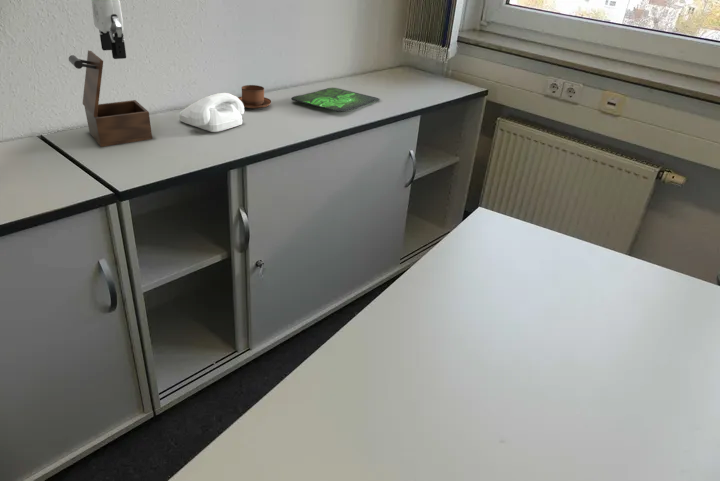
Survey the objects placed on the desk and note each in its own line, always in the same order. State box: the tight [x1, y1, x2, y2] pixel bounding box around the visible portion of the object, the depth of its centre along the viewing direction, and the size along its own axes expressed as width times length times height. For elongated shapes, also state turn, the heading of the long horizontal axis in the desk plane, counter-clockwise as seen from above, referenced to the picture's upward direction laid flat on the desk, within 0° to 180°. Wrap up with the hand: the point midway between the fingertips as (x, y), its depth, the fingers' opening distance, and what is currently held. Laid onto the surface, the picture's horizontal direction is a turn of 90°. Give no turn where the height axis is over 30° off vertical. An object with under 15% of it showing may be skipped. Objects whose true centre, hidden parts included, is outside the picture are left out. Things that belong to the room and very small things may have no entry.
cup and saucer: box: [237, 84, 272, 110], centre depth 180 cm, size 12×12×6 cm
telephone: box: [179, 92, 245, 133], centre depth 163 cm, size 16×20×9 cm
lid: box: [68, 49, 104, 117], centre depth 139 cm, size 14×12×6 cm
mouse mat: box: [290, 87, 381, 113], centre depth 192 cm, size 27×22×1 cm
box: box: [83, 99, 153, 148], centre depth 149 cm, size 14×12×8 cm
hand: (114, 54), depth 141 cm, fingers open, 9 cm apart
